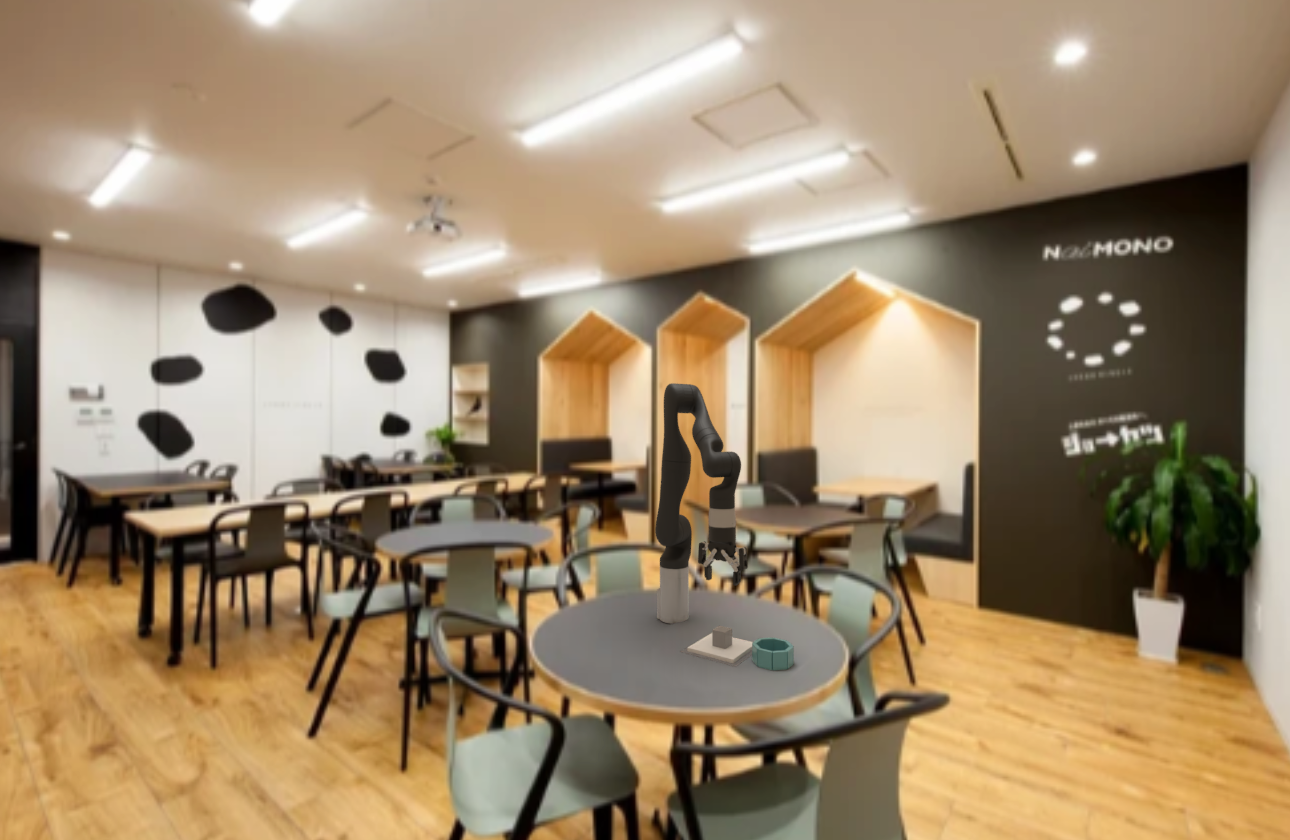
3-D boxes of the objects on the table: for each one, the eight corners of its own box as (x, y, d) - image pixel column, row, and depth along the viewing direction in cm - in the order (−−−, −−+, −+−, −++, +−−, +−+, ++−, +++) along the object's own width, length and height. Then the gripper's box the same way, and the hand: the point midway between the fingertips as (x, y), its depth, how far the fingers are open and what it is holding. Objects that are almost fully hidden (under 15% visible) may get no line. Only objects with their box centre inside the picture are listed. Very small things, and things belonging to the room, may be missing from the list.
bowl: (746, 665, 159) (746, 646, 159) (763, 653, 167) (763, 634, 167) (783, 675, 153) (783, 655, 153) (798, 661, 161) (798, 643, 161)
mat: (679, 653, 167) (679, 651, 167) (710, 634, 181) (710, 633, 181) (735, 668, 157) (735, 666, 157) (763, 647, 171) (763, 646, 171)
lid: (687, 651, 167) (687, 631, 167) (712, 635, 179) (712, 617, 179) (733, 663, 159) (733, 642, 159) (756, 646, 171) (756, 626, 170)
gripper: (693, 523, 170) (693, 581, 170) (739, 528, 161) (739, 589, 161) (706, 519, 176) (706, 575, 176) (751, 524, 167) (751, 583, 168)
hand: (722, 582), depth 169 cm, fingers open, 8 cm apart
